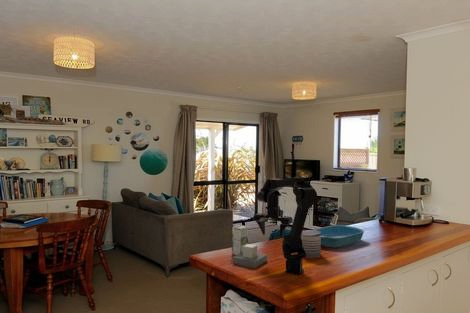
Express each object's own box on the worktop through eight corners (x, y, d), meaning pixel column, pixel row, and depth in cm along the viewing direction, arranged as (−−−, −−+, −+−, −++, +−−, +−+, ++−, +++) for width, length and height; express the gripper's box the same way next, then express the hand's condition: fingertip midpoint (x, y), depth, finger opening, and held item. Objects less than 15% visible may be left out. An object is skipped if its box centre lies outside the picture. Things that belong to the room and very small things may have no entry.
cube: (257, 255, 171) (257, 245, 171) (252, 258, 167) (252, 247, 167) (248, 254, 174) (248, 243, 174) (242, 256, 170) (243, 246, 169)
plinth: (266, 261, 173) (266, 254, 173) (255, 267, 162) (255, 261, 162) (245, 257, 179) (245, 251, 179) (232, 263, 168) (232, 257, 168)
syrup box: (238, 251, 188) (238, 224, 188) (247, 254, 184) (247, 226, 184) (231, 254, 184) (231, 226, 183) (240, 256, 180) (240, 227, 180)
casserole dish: (333, 251, 191) (333, 238, 191) (301, 243, 208) (301, 231, 208) (370, 241, 214) (370, 229, 214) (338, 234, 231) (338, 223, 231)
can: (319, 259, 177) (319, 235, 177) (296, 256, 181) (296, 233, 181) (321, 252, 188) (322, 230, 188) (300, 250, 192) (300, 228, 192)
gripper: (296, 203, 175) (296, 235, 175) (262, 200, 185) (262, 230, 185) (288, 206, 166) (287, 240, 166) (252, 203, 175) (252, 235, 175)
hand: (272, 236), depth 173 cm, fingers open, 9 cm apart
